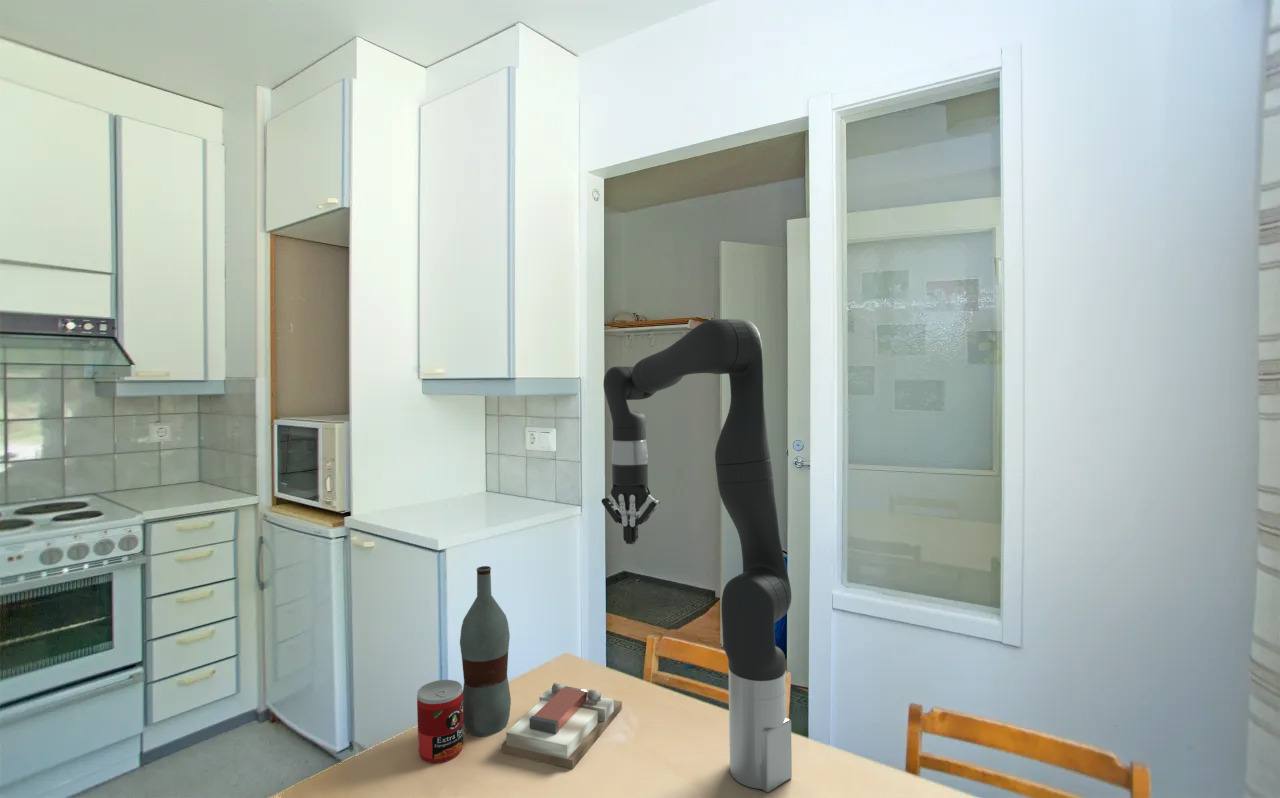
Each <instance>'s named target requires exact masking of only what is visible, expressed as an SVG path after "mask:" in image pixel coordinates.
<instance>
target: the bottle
mask: <svg viewBox="0 0 1280 798" xmlns="http://www.w3.org/2000/svg"><path fill="white" fill-rule="evenodd" d="M491 570H492V568H491V566H489V565H485V566H484V565H482V566H478V567H476V598H475V599H474V601H473V603H472V604H471V606H470V608H469V609H468V611H467V612H466V614H465V616H464V618H463V620H462V624H461V627H460V637H459V647H460V648H459V649H460V653H461V663H462V664H461V665H462V672H463V673H462V674H463V686H462V690H463V728H464V729H465V732H466V733H467V734H469V735H471V736H476V737H484V736H485V737H487V736H491V735H493V734H495V735H496V734H497V733H499V732H501V731H503V730H504V729H505V728H507V725H508V723H509V719H510V716H511V706H512V705H511V703H512V697H511V690H510V684H509V683H510V682H509V678H508V662H509V661H508V660H509V650H510V649H509V646H510V638H511V637H510V627H509V622H508V621H509V620H508V618H507V616H506V613H505V612H504V611H503V609H502V607H500V605H499V604H498V602H497V601H496V599H495V598H494V596H493V595H492V578H491V577H492V576H491Z"/></svg>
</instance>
